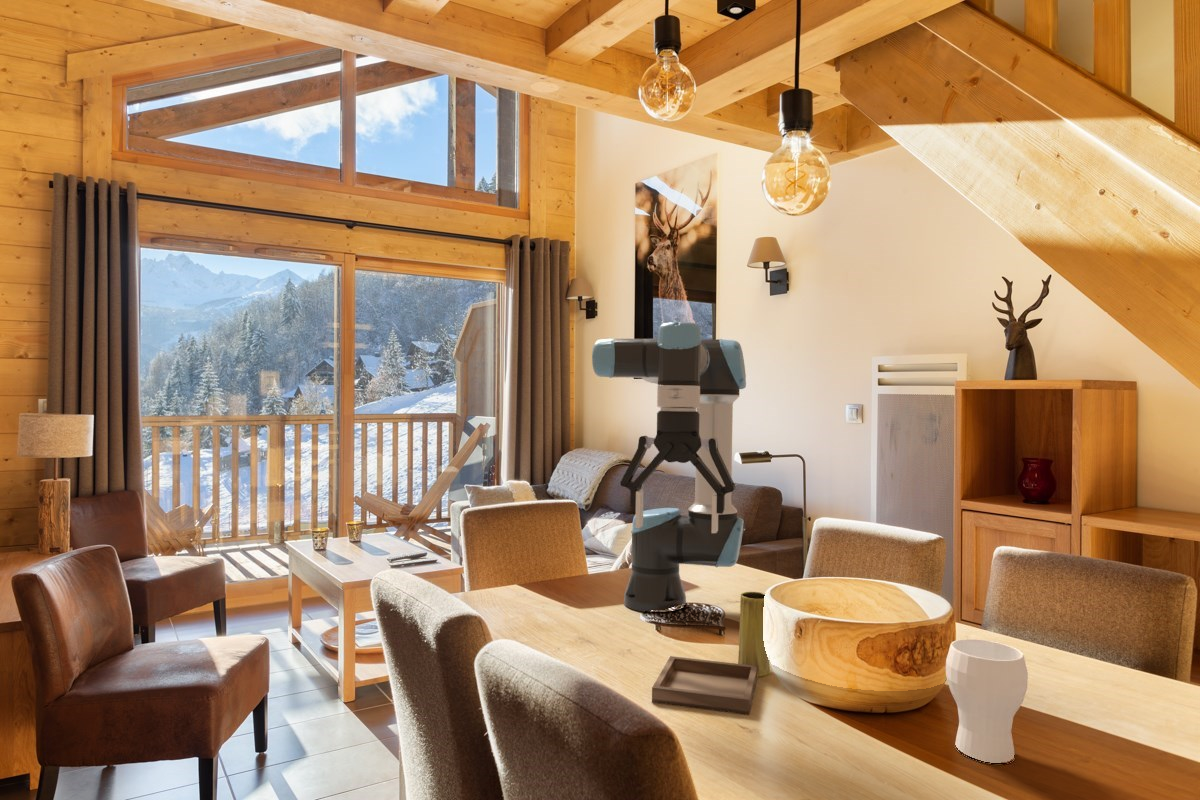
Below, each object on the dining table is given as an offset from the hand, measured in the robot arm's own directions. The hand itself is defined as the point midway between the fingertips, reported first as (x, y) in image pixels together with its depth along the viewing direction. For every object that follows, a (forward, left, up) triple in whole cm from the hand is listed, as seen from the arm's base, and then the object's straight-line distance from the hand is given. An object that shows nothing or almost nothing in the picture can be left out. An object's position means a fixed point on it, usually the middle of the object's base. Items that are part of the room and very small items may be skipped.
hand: (676, 529), depth 135 cm
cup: (+11, +48, -28) cm, 57 cm away
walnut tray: (+1, +6, -28) cm, 28 cm away
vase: (-11, +13, -28) cm, 32 cm away
